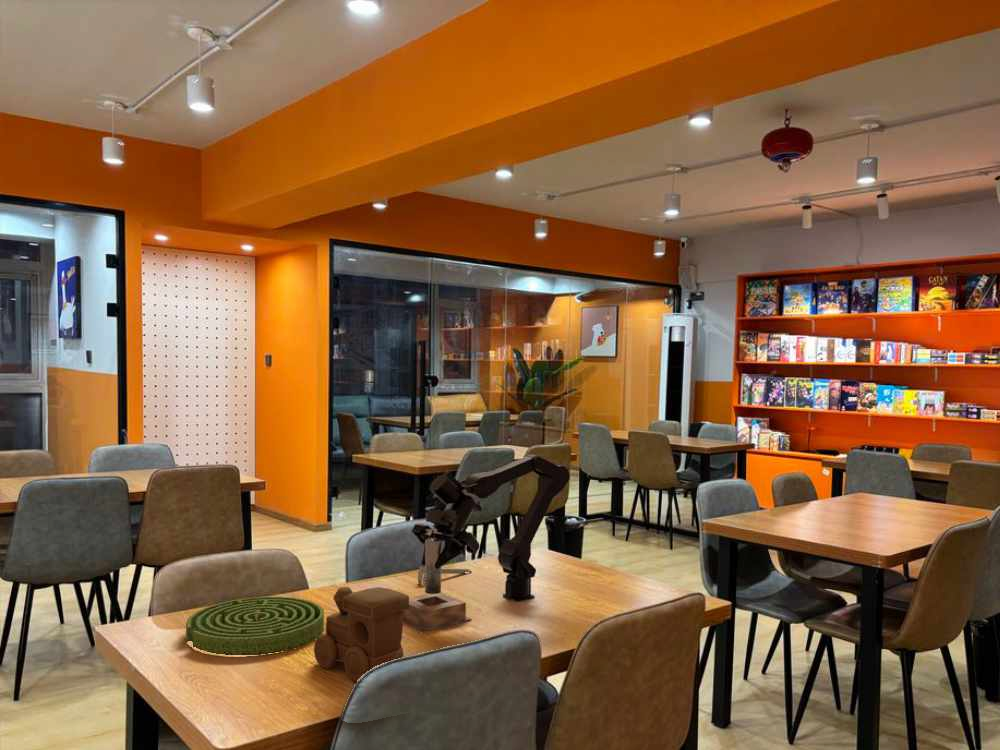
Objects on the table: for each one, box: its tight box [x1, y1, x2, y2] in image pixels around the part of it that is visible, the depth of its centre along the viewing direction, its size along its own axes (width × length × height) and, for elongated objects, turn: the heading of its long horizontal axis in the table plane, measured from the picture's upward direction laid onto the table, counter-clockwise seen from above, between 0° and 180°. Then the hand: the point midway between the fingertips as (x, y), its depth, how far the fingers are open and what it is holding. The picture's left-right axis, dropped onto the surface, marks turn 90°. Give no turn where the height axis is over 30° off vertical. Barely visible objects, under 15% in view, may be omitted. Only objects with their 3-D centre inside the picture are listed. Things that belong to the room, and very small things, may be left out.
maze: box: [185, 596, 325, 655], centre depth 184 cm, size 31×31×5 cm
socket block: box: [403, 591, 472, 633], centre depth 196 cm, size 14×14×4 cm
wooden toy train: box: [313, 586, 410, 682], centre depth 163 cm, size 20×11×17 cm, turn 49°
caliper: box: [417, 564, 471, 585], centre depth 234 cm, size 20×1×6 cm, turn 134°
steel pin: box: [424, 538, 442, 594], centre depth 196 cm, size 4×4×13 cm
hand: (429, 566), depth 194 cm, fingers closed on steel pin, 4 cm apart
